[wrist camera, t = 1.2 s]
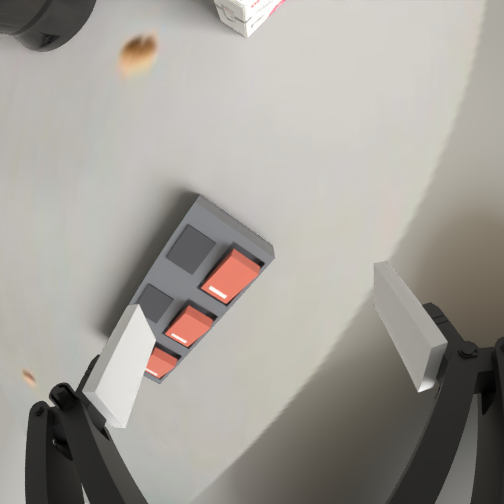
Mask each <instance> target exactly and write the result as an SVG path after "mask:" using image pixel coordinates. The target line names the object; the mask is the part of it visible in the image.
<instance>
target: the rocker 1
mask: <svg viewBox="0 0 504 504" xmlns="http://www.w3.org/2000/svg"><path fill="white" fill-rule="evenodd" d="M177 360H178V359H176V358H174V357H172V356H171V355H169V354H167V353H165V352H163V351H162V350H160V349H158V348H156V347H155V348H154V349H153V350H152V352H151V355H150V358H149V360H148V363H147V366H146V369H145V371H146V372H148V373H150V374H152V375H153V376H155V377H157V378H160V377H162V376H163V375H164V374H166V373H167V372H169V371H170V370H171V369H173V368H174V367H175V365H176V362H177Z"/></svg>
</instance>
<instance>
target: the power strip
mask: <svg viewBox="0 0 504 504" xmlns="http://www.w3.org/2000/svg"><path fill="white" fill-rule="evenodd" d="M233 249H235V250H237V251H238V252H240V253H241V254H242V255H244V256H245V257H247V258H248V259H250V260H251V261H253V262H254V263H256V264H257V265H259V266H260V271H259V275H260V274H261V273H262V272H263V271H264V270H265V269H266V267H267V266H268V265H269V264H270V263H271V262H272V261H273V260H274V258H275V255H274V249H273V246H272V245H271V244H270V243H268V242H267V241H265V240H264V239H263V238H261V237H260V236H258V235H257V234H256V233H254V232H253V231H251V230H250V229H249V228H247V227H246V226H244V225H243V224H242V223H240V222H239V221H237V220H236V219H234V218H233V217H232V216H230V215H229V214H227V213H226V212H225V211H223V210H222V209H220V208H219V207H217V206H216V205H215V204H213V203H212V202H210V201H209V200H207V199H206V198H205V197H203V196H202V195H199V197H198V198H197V200H196V201H195V202H194V204H193V205H192V207H191V208H190V210H189V211H188V212H187V214H186V215H185V217H184V218H183V220H182V221H181V223H180V224H179V226H178V227H177V229H176V230H175V232H174V233H173V235H172V236H171V238H170V239H169V241H168V242H167V244H166V245H165V247H164V248H163V250H162V251H161V253H160V254H159V256H158V257H157V259H156V261H155V262H154V264H153V265H152V267H151V269H150V270H149V272H148V273H147V275H146V276H145V278H144V280H143V281H142V283H141V285H140V286H139V288H138V290H137V291H136V293H135V294H134V296H133V298H132V299H131V301H130V303H129V305H134V304H139V305H140V308H141V310H142V312H143V314H144V316H145V318H146V320H147V322H148V325H149V327H150V329H151V331H152V333H153V335H154V337H155V339H156V341H155V344H154V347H153V349H154V348H155V347H156V348H158V349H160V350H162V351H163V352H165V353H167V354H169V355H171V356H172V357H174V358H176V359H178V360H177V362H176V365H175V367H176V366H177V365H178V364H179V363H180V362H181V361H182V360H183V359H184V358H185V357H186V356H187V355H188V353H189V352H190V351H191V350H192V349H193V348H194V347H195V346H196V345H197V344H198V343H199V342H200V341H201V339H202V338H203V337H204V336H205V335H206V334H207V333H208V332H209V331H210V330H211V329H212V327H213V326H214V325H215V324H216V323H217V322H218V321H219V320H220V319H221V318H222V316H223V315H224V314H225V313H226V312H227V311H228V310H229V309H230V308H231V307H232V305H233V304H234V303H235V302H236V301H237V300H238V299H239V298H240V297H241V295H242V294H243V293H244V292H245V291H246V290H247V289H248V288H249V287H250V285H251V284H252V283H253V282H254V281H255V280H256V279H257V278H258V276H259V275H258V276H256V277H255V278H254V279H253V280H252V281H251V282H250V283H249V284H248V285H247V286H245V287H244V288H243V289H242V290H241V291H240V292H239V293H238V294H237V295H235V296H234V297H233V298H232V299H231V300H230V301H229V302H228V303H226V304H225V303H224V302H222V301H221V300H219V299H217V298H216V297H214V296H213V295H211V294H209V293H208V292H206V291H205V290H203V289H201V287H202V285H203V282H204V280H205V279H206V278H207V277H208V276H209V275H210V274H211V273H212V272H213V271H214V269H215V268H216V267H217V266H218V265H219V264H220V263H221V262H222V261H223V260H224V259H225V258H226V256H227V255H228V254H229V253H230V252H231V251H232V250H233ZM188 305H189V306H191V307H192V308H194V309H196V310H197V311H199V312H201V313H202V314H204V315H206V316H207V317H209V318H211V319H212V320H213V322H212V325H211V328H210V329H209V330H208V331H206V332H205V333H204V334H203V335H202V336H200V337H199V338H198V339H197V340H195V341H194V342H193V343H192V344H191V345H189V346H188V347H186V346H185V345H183V344H181V343H179V342H178V341H176V340H174V339H172V338H171V337H169V336H167V335H166V334H165V333H166V330H167V328H168V326H169V325H170V324H171V323H172V322H173V321H174V320H175V319H176V318H177V317H178V316H179V315H180V314H181V313H182V312H183V310H184V309H185V308H186V307H187V306H188ZM107 342H108V341H107ZM175 367H174V368H173V369H171V370H170V371H169V372H167V373H166V374H164V375H163V376H162V377H160V378H157V377H155V376H153V375H152V374H150V373H148V372H146V371H144V374H143V376H145V377H147V378H149V379H151V380H153V381H154V382H156V383H158V384H160V383H161V382H162V381H163V380H164V379H165V378H166V377H167V376H168V375H169V374H170V373H171V372H172V371H173V370H174V369H175Z"/></svg>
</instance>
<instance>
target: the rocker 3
mask: <svg viewBox="0 0 504 504" xmlns="http://www.w3.org/2000/svg"><path fill="white" fill-rule="evenodd" d="M259 271H260V266H259V265H257V264H256V263H254V262H253V261H251V260H250V259H248V258H247V257H245V256H244V255H242V254H241V253H240V252H238V251H237V250H235V249H233V250H232V251H231V252H230V253H229V254H228V255H227V256H226V258H225V259H224V260H223V261H222V262H221V263H220V264H219V265H218V266H217V267H216V268H215V269H214V271H213V272H212V273H211V274H210V275H209V276H208V277H207V278H206V279H205V280H204V282H203V285H202V287H201V289H203V290H205V291H206V292H208V293H209V294H211V295H213V296H214V297H216V298H217V299H219V300H221V301H222V302H224V303H225V304H226V303H228V302H229V301H230V300H231V299H232V298H233V297H234V296H235V295H237V294H238V293H239V292H240V291H241V290H242V289H243V288H244V287H245V286H247V285H248V284H249V283H250V282H251V281H252V280H253V279H254V278H255V277H256V276H258V275H259Z"/></svg>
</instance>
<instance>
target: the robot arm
mask: <svg viewBox="0 0 504 504" xmlns="http://www.w3.org/2000/svg"><path fill="white" fill-rule="evenodd" d="M95 2H96V0H0V33H1V34H8V35H13V36H14V37H15V38H16V39H17V40H19V41H20V42H21V43H22V44H23V45H24V46H26V47H27V48H29V49H31V50H36V51H50V50H53V49H56V48H58V47H60V46H61V45H63V44H64V43H66V42H67V41H69V40H70V39H71V38H72V37H73V36H74V35H75V34H76V33H77V32H78V31H79V30H80V29H81V28H82V26H83V25H84V24H85V22H86V21H87V19H88V18H89V16H90V14H91V12H92V10H93V8H94V5H95ZM373 305H374V307H375V309H376V310H377V313H378V314H379V316H380V318H381V320H382V322H383V323H384V325H385V327H386V329H387V331H388V333H389V335H390V337H391V339H392V340H393V342H394V344H395V346H396V348H397V350H398V352H399V354H400V356H401V358H402V360H403V362H404V364H405V366H406V368H407V370H408V372H409V374H410V376H411V378H412V380H413V382H414V384H415V387H416V389H417V391H418V392H420V391H423V390H426V389H429V388H432V387H433V386H434V383H435V381H436V379H437V380H438V382H439V384H440V386H439V389H438V392H437V394H436V396H435V400H434V403H433V406H432V408H431V411H430V414H429V416H428V419H427V421H426V424H425V426H424V429H423V431H422V433H421V436H420V438H419V440H418V442H417V445H416V447H415V449H414V451H413V453H412V455H411V457H410V460H409V461H408V463H407V465H406V468H405V469H404V471H403V473H402V475H401V477H400V479H399V481H398V482H397V484H396V486H395V488H394V490H393V491H392V493H391V495H390V496H389V498H388V500H387V501H386V503H385V504H435V501H436V499H437V497H438V495H439V493H440V491H441V489H442V486H443V484H444V482H445V479H446V477H447V475H448V473H449V470H450V468H451V465H452V462H453V460H454V457H455V454H456V451H457V449H458V446H459V442H460V440H461V437H462V434H463V430H464V427H465V424H466V420H467V417H468V413H469V409H470V405H471V401H472V397H473V394H478V440H477V457H476V467H475V477H474V484H473V491H472V497H471V503H470V504H504V337H501V338H500V339H498V340H497V342H496V344H495V346H494V347H488V348H479V347H478V346H477V345H476V344H474V343H472V342H470V341H464V340H463V339H462V337H461V336H460V334H459V333H458V332H457V330H456V329H455V328H454V326H453V325H452V324H451V322H450V321H449V320H448V319H447V317H446V316H444V313H443V312H442V311H441V310H440V308H439V307H437V306H435V305H434V304H432V303H427V304H424V305H421V304H420V303H419V301H418V300H417V298H416V297H415V296H414V294H413V293H412V292H411V291H410V289H409V288H408V287H407V285H406V284H405V283H404V282H403V280H402V279H401V278H400V277H399V275H398V274H397V273H396V272H395V270H394V269H393V268H392V267H391V265H390V264H389V263H388V262H387V261H384V262H379V263H374V302H373ZM155 341H156V339H155V337H154V335H153V333H152V331H151V329H150V327H149V325H148V322H147V320H146V318H145V316H144V314H143V312H142V310H141V308H140V305H139V304H134V305H128V306H127V308H126V309H125V311H124V313H123V315H122V316H121V318H120V320H119V322H118V323H117V325H116V327H115V329H114V331H113V332H112V334H111V336H110V338H109V340H108V342H107V343H106V345H105V347H104V349H103V351H102V353H101V355H97V356H96V357H95V358H94V359H93V360H92V361H91V363H90V365H89V366H88V368H87V369H88V370H86V372H85V376H83V378H82V380H81V382H80V384H79V386H78V388H77V390H76V392H75V391H74V390H73V389H72V388H71V386H70V385H69V384H68V383H60V384H57V385H56V386H55V387H54V388H53V389H52V390H51V392H50V394H49V399H50V400H51V401H52V402H53V403H54V405H55V406H54V407H50V406H49V405H48V404H47V403H46V402H44V401H39V402H37V403H35V404H34V405H33V406H32V408H31V409H30V413H29V420H28V430H27V442H26V460H25V461H26V462H25V496H26V504H85V503H84V497H83V491H82V485H83V488H84V490H85V493H86V495H87V497H88V500H89V502H90V504H148V503H147V501H146V500H145V498H144V496H143V495H142V493H141V491H140V490H139V488H138V487H137V485H136V483H135V481H134V480H133V478H132V476H131V474H130V473H129V471H128V469H127V467H126V465H125V464H124V462H123V460H122V458H121V456H120V454H119V452H118V450H117V448H116V446H115V444H114V442H113V440H112V438H111V436H110V434H109V431H108V429H107V428H106V427H105V426H104V425H105V422H106V420H107V421H108V423H109V424H110V425H111V426H112V427H118V428H126V424H127V421H128V418H129V415H130V412H131V409H132V406H133V403H134V400H135V397H136V394H137V391H138V388H139V386H140V383H141V380H142V377H143V374H144V371H145V369H146V366H147V363H148V360H149V358H150V355H151V352H152V350H153V347H154V344H155ZM53 441H54V444H53ZM81 483H82V484H81Z"/></svg>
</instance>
